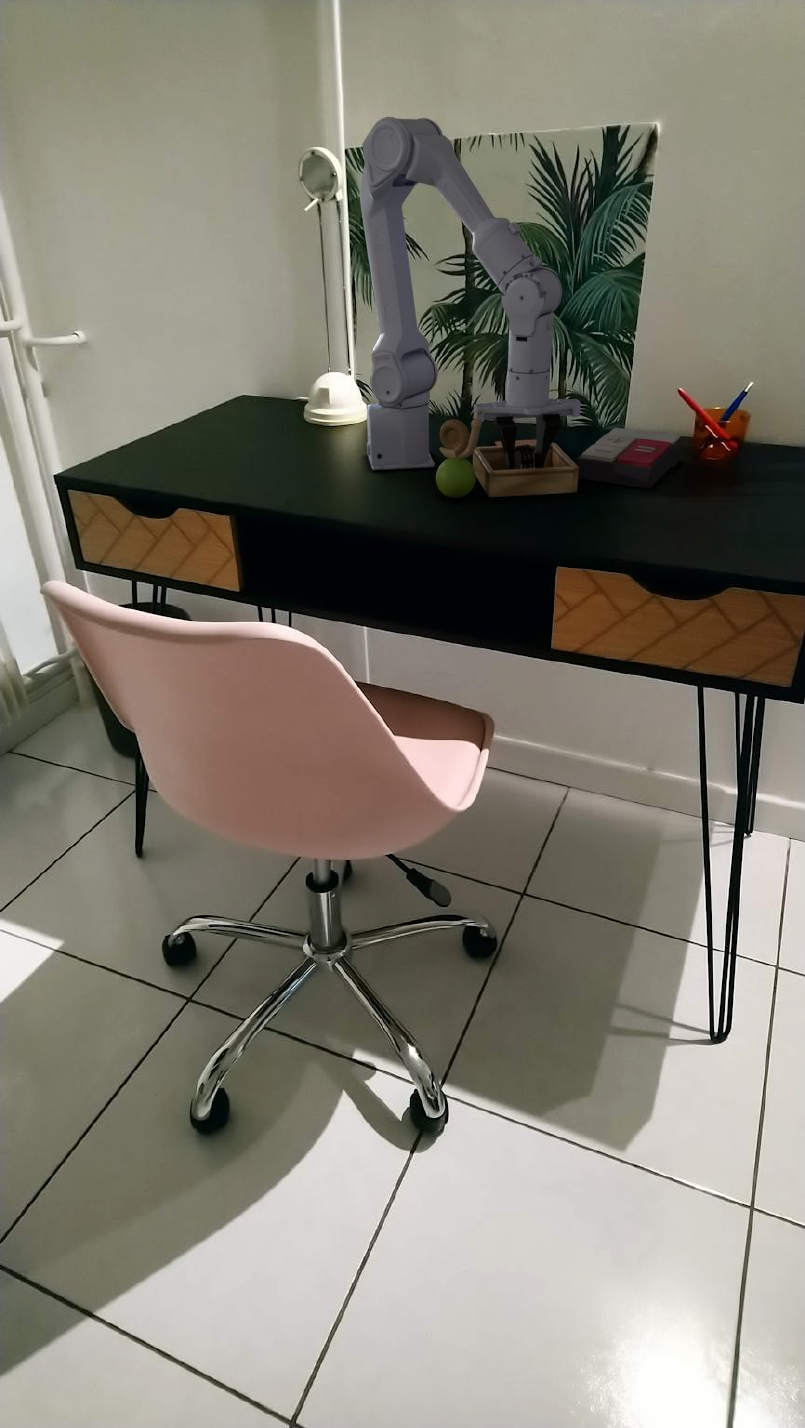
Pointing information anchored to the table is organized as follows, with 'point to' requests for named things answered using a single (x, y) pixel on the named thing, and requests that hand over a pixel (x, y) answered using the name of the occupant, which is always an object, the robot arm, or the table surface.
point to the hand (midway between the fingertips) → (524, 469)
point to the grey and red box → (630, 457)
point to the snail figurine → (457, 457)
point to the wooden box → (524, 473)
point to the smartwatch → (524, 457)
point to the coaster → (519, 442)
